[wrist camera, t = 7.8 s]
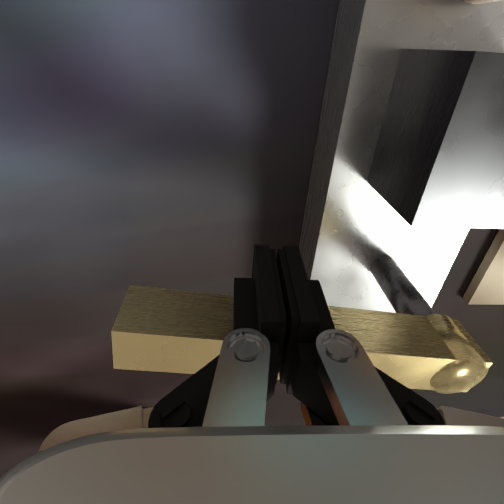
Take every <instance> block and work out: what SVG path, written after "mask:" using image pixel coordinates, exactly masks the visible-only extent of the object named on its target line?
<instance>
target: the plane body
mask: <svg viewBox="0 0 504 504" xmlns="http://www.w3.org/2000/svg"><path fill="white" fill-rule="evenodd" d="M402 49H427V50H458V51H482V52H496V53H504V0H339V4H338V10H337V17H336V23H335V29H334V35H333V41H332V47H331V53H330V59H329V66H328V72H327V78H326V84H325V90H324V96H323V102H322V109H321V115H320V121H319V127H318V133H317V139H316V145H315V151H314V158H313V164H312V170H311V176H310V182H309V188H308V194H307V201H306V207H305V213H304V219H303V225H302V231H301V237H300V243H299V250H300V253H301V257H302V260H303V264H304V267H305V270H306V274H307V277H308V280H319V282H320V284H321V287H322V290H323V293H324V296H325V299H326V302H327V305H328V306H335V307H345V308H354V309H364V310H373V311H383V312H392V313H402V314H411V315H421V316H427V315H432V314H436V313H435V312H434V311H433V309H432V308H431V307H432V305H433V303H434V301H435V299H436V297H437V295H438V292H439V290H440V288H441V286H442V284H443V282H444V280H445V278H446V276H447V274H448V272H449V270H450V268H451V266H452V264H453V261H454V259H455V257H456V255H457V253H458V251H459V249H460V247H461V245H462V243H463V241H464V239H465V237H466V235H467V233H468V230H469V228H446V227H411V226H410V225H409V224H408V223H407V222H406V221H405V220H404V219H403V218H402V217H401V216H400V215H399V214H398V213H397V212H396V211H395V210H394V209H393V208H392V207H391V206H390V205H389V204H388V203H387V202H386V201H385V200H384V199H383V198H382V197H381V196H380V195H379V194H378V193H377V192H376V191H375V190H374V189H373V188H372V187H371V186H370V185H369V184H368V183H367V179H368V175H369V171H370V168H371V164H372V160H373V156H374V152H375V149H376V145H377V141H378V137H379V133H380V130H381V126H382V122H383V118H384V114H385V111H386V107H387V103H388V99H389V95H390V92H391V88H392V84H393V80H394V77H395V73H396V69H397V65H398V61H399V58H400V54H401V50H402Z"/></svg>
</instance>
